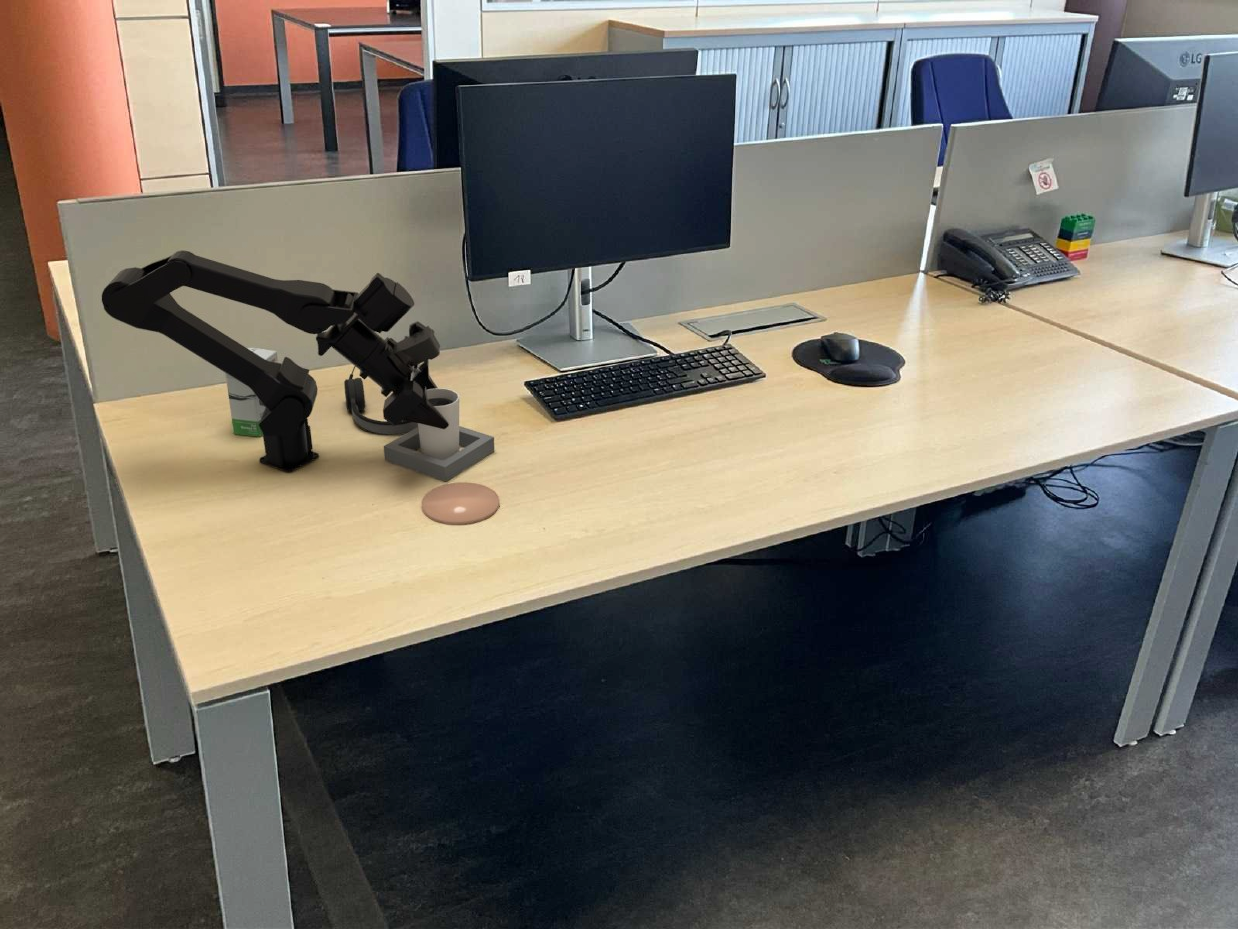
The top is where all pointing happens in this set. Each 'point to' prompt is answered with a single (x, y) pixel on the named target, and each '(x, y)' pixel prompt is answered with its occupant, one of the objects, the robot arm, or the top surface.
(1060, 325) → the top surface
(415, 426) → the headset
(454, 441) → the grey cup
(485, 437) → the cup holder
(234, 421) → the ink box
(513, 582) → the top surface
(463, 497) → the coaster
